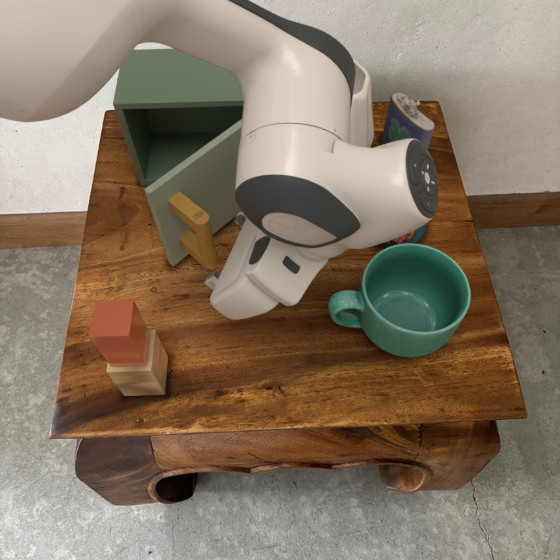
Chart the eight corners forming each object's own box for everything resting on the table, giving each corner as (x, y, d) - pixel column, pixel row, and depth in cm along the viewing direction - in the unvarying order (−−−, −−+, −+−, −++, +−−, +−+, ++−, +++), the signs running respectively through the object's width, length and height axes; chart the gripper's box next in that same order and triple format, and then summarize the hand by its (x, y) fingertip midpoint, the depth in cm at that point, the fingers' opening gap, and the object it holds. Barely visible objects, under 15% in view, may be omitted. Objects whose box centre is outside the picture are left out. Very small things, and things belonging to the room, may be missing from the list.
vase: (376, 132, 90) (391, 52, 77) (361, 197, 83) (375, 120, 70) (293, 118, 92) (294, 37, 79) (271, 180, 85) (269, 103, 72)
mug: (441, 280, 75) (459, 240, 67) (459, 365, 69) (482, 332, 61) (320, 284, 75) (324, 245, 67) (328, 370, 69) (333, 338, 61)
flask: (425, 169, 86) (441, 116, 77) (410, 176, 85) (425, 123, 76) (390, 133, 90) (401, 78, 81) (375, 139, 89) (385, 85, 80)
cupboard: (269, 182, 85) (266, 99, 71) (140, 185, 85) (112, 103, 71) (268, 131, 91) (265, 45, 77) (147, 134, 90) (122, 49, 77)
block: (111, 367, 61) (88, 336, 54) (115, 334, 63) (94, 301, 56) (147, 366, 61) (129, 335, 54) (150, 333, 63) (133, 299, 56)
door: (301, 207, 82) (303, 128, 69) (201, 292, 75) (183, 222, 61) (267, 183, 85) (263, 102, 71) (168, 262, 77) (143, 189, 64)
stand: (124, 396, 67) (105, 371, 60) (129, 358, 70) (111, 330, 63) (165, 394, 67) (151, 370, 61) (168, 357, 70) (155, 329, 63)
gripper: (309, 137, 62) (236, 175, 72) (247, 284, 52) (172, 305, 62) (344, 173, 65) (269, 205, 75) (291, 318, 55) (213, 333, 66)
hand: (224, 251), depth 69 cm, fingers open, 8 cm apart
